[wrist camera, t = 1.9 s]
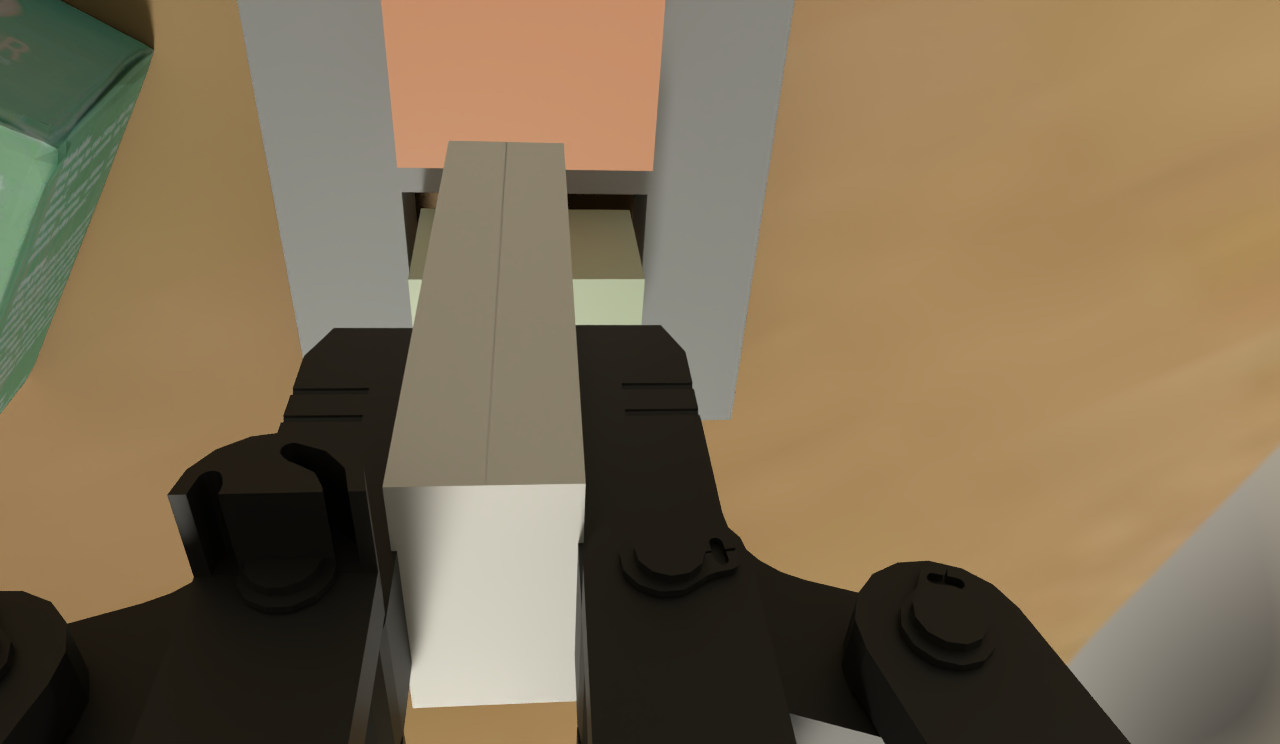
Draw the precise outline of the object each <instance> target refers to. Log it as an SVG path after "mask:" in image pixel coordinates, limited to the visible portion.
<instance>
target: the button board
mask: <svg viewBox="0 0 1280 744" xmlns="http://www.w3.org/2000/svg"><path fill="white" fill-rule="evenodd" d="M237 2H238V7H239V13H240V18H241V24H242V29H243V35H244V40H245V45H246V51H247V56H248V62H249V67H250V73H251V78H252V83H253V89H254V94H255V100H256V105H257V111H258V116H259V121H260V127H261V132H262V138H263V143H264V149H265V154H266V160H267V165H268V170H269V176H270V181H271V187H272V192H273V198H274V203H275V208H276V214H277V219H278V225H279V230H280V236H281V241H282V246H283V252H284V257H285V263H286V268H287V274H288V279H289V284H290V290H291V295H292V301H293V306H294V312H295V317H296V323H297V328H298V333H299V339H300V344H301V350H302V355H303V358H304V356H305V355H306V354H307V353H308V352H309V351H310V350H311V349H312V348H313V347H314V346H315V345H316V344H317V343H318V342H319V341H320V340H322V339H323V338H324V337H325V336H326V335H327V334H328V333H329V332H330V331H331V330H332V329H333V328H413V325H412V315H411V305H410V294H409V284H408V277H409V272H410V266H411V261H412V255H413V250H414V244H415V239H416V233H417V227H418V224H417V213H416V201H415V192H438V193H439V189H440V184H441V178H442V173H443V168H397V161H396V151H395V140H394V130H393V120H392V110H391V99H390V89H389V79H388V69H387V58H386V48H385V38H384V28H383V17H382V7H381V0H237ZM793 7H794V0H665V14H664V27H663V41H662V54H661V68H660V81H659V95H658V108H657V122H656V135H655V149H654V162H653V171H618V170H566V184H567V194H634V205H633V221H632V223H633V228H634V232H635V237H636V241H637V246H638V251H639V255H640V260H641V264H642V269H643V273H644V278H645V284H644V297H643V310H642V324H641V325H661V326H662V327H663V328H664V329H665V330H666V331H667V332H668V333H669V334H670V335H671V337H672V338H673V339H674V340H675V341H676V342H677V343H678V344H679V345H680V346H681V347H682V348H683V350H684V351H685V352H686V356H687V360H688V365H689V369H690V374H691V378H692V382H693V384H692V387H693V389H694V391H695V396H696V400H697V404H698V415H700V418H701V420H730V419H731V415H732V408H733V402H734V395H735V389H736V382H737V375H738V369H739V362H740V356H741V349H742V343H743V336H744V329H745V323H746V316H747V310H748V303H749V297H750V290H751V283H752V277H753V270H754V264H755V257H756V250H757V244H758V237H759V231H760V224H761V218H762V211H763V204H764V198H765V191H766V185H767V178H768V172H769V165H770V158H771V152H772V145H773V139H774V132H775V125H776V119H777V112H778V106H779V99H780V93H781V86H782V79H783V73H784V66H785V60H786V53H787V47H788V40H789V33H790V27H791V20H792V14H793Z"/></svg>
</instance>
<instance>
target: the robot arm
mask: <svg viewBox="0 0 1280 744" xmlns="http://www.w3.org/2000/svg"><path fill="white" fill-rule="evenodd" d="M692 384H693V382H692V378H691V374H690V369H689V365H688V360H687V356H686V352H685V351H684V350H683V348H682V347H681V346H680V345H679V344H678V343H677V342H676V341H675V340H674V339H673V338H672V337H671V335H670V334H669V333H668V332H667V331H666V330H665V329H664V328H663V327H662V326H661V325H575V309H574V293H573V278H572V262H571V246H570V231H569V215H568V200H567V184H566V168H565V153H564V143H533V142H488V141H449V142H448V147H447V152H446V157H445V163H444V168H443V173H442V178H441V184H440V189H439V194H438V199H437V205H436V210H435V215H434V220H433V225H432V231H431V236H430V241H429V246H428V252H427V257H426V262H425V267H424V273H423V278H422V283H421V288H420V293H419V299H418V304H417V309H416V314H415V320H414V325H413V328H333V329H332V330H331V331H330V332H329V333H328V334H327V335H326V336H325V337H324V338H323V339H322V340H320V341H319V342H318V343H317V344H316V345H315V346H314V347H313V348H312V349H311V350H310V351H309V352H308V353H307V354H306V355H305V356H304V358H303V361H302V363H301V366H300V369H299V372H298V375H297V378H296V381H295V384H294V387H293V395H290V398H289V401H288V404H287V407H286V410H285V413H284V415H283V416H284V422H283V423H281V424H280V427H279V430H278V433H275V434H267V435H260V436H252V437H249V438H246V439H243V440H241V441H238V442H235V443H232V444H230V445H227V446H224V447H222V448H219V449H216V450H214V451H213V452H212V453H210V454H209V455H207V456H206V457H204V458H203V459H201V460H200V461H198V462H197V463H196V464H194V465H193V466H191V467H190V468H188V469H187V470H186V471H185V472H184V473H183V475H182V476H181V477H180V479H179V480H178V481H177V483H176V484H175V485H174V487H173V488H172V489H171V491H170V492H169V493H168V495H167V496H168V499H169V502H170V505H171V508H172V511H173V514H174V517H175V520H176V523H177V526H178V529H179V533H180V536H181V539H182V542H183V545H184V548H185V551H186V554H187V557H188V560H189V563H190V566H191V570H192V573H193V576H194V578H193V581H192V582H191V583H190V584H188V585H186V586H184V587H182V588H180V589H178V590H176V591H175V592H173V593H170V594H168V595H165V596H162V597H159V598H156V599H154V600H151V601H148V602H145V603H142V604H139V605H135V606H131V607H127V608H124V609H120V610H116V611H113V612H109V613H105V614H102V615H98V616H94V617H91V618H87V619H83V620H79V621H76V622H72V623H68V624H67V623H66V621H65V620H64V619H63V617H62V616H61V615H60V613H59V612H58V611H57V609H56V608H55V607H54V605H53V604H52V603H51V602H50V601H47V600H45V599H42V598H39V597H37V596H34V595H31V594H29V593H26V592H24V591H0V744H406V743H405V736H404V723H405V715H406V707H407V700H408V692H409V684H410V691H411V698H412V705H413V708H425V707H448V706H471V705H495V704H518V703H541V702H565V701H576V702H577V744H1131V743H1130V742H1129V741H1128V740H1127V738H1126V737H1125V736H1124V735H1123V734H1122V732H1121V731H1120V730H1119V729H1118V728H1117V726H1116V725H1115V724H1114V723H1113V722H1112V720H1111V719H1110V718H1109V717H1108V715H1107V714H1106V713H1105V712H1104V711H1103V709H1102V708H1101V707H1100V706H1099V705H1098V703H1097V702H1096V701H1095V700H1094V699H1093V697H1091V695H1090V694H1089V692H1088V691H1087V690H1086V689H1085V688H1084V686H1083V685H1082V684H1081V683H1080V682H1079V681H1078V679H1077V678H1076V677H1075V675H1074V674H1073V673H1072V672H1071V671H1070V669H1069V668H1068V667H1067V666H1066V665H1065V663H1064V662H1063V661H1062V660H1061V658H1060V657H1059V656H1058V655H1057V654H1056V652H1055V651H1054V650H1053V649H1052V648H1051V646H1050V645H1049V644H1048V643H1047V641H1046V640H1045V639H1044V638H1043V637H1042V635H1041V634H1040V633H1039V632H1038V631H1037V629H1036V628H1035V627H1034V626H1033V624H1032V623H1031V622H1030V621H1029V620H1028V618H1027V617H1026V616H1025V615H1024V614H1023V612H1022V611H1021V610H1020V609H1019V608H1018V607H1017V606H1016V605H1015V604H1014V603H1013V602H1012V601H1011V600H1009V599H1008V598H1007V597H1006V596H1005V595H1004V594H1003V593H1002V592H1001V591H1000V590H998V589H997V588H996V587H995V586H994V585H993V584H991V583H989V582H987V581H985V580H983V579H981V578H979V577H977V576H975V575H973V574H971V573H969V572H968V571H966V570H964V569H962V568H957V567H953V566H949V565H944V564H940V563H936V562H931V561H917V562H900V563H896V564H894V565H891V566H889V567H887V568H885V569H883V570H880V571H878V572H876V573H874V574H872V576H871V577H870V578H869V580H868V581H867V582H866V584H865V585H864V586H863V588H862V589H861V590H860V592H859V593H857V592H853V591H849V590H845V589H840V588H836V587H832V586H828V585H824V584H819V583H815V582H811V581H807V580H803V579H800V578H797V577H794V576H791V575H788V574H785V573H782V572H780V571H778V570H776V569H774V568H772V567H771V566H769V565H767V564H765V563H763V562H761V561H760V560H758V559H757V558H756V557H755V556H753V555H752V554H751V553H750V552H749V551H747V550H746V548H745V546H744V544H743V542H742V540H741V538H740V537H739V536H738V535H737V534H735V533H734V532H733V531H732V530H731V529H730V528H728V526H727V523H726V521H725V518H724V516H723V513H722V510H721V505H720V501H719V497H718V492H717V488H716V483H715V479H714V475H713V470H712V466H711V462H710V457H709V453H708V448H707V444H706V440H705V435H704V431H703V426H702V422H701V418H700V415H698V404H697V400H696V396H695V391H694V389H693V387H692Z"/></svg>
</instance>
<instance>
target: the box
mask: <svg viewBox="0 0 1280 744" xmlns="http://www.w3.org/2000/svg"><path fill="white" fill-rule="evenodd" d="M153 52H154V50H153V49H151V48H150V47H148V46H146V45H145V44H143V43H141V42H140V41H138V40H136V39H134V38H132V37H130V36H128V35H126V34H124V33H122V32H120V31H118V30H116V29H114V28H112V27H110V26H108V25H107V24H105V23H103V22H101V21H99V20H97V19H95V18H93V17H92V16H90V15H88V14H86V13H84V12H82V11H80V10H78V9H76V8H74V7H72V6H70V5H68V4H66V3H64V2H63V1H61V0H0V414H1V412H2V411H3V410H4V408H5V407H6V406H7V404H8V403H9V402H10V401H11V399H12V398H13V397H14V395H15V394H16V393H17V391H18V390H19V389H20V388H21V386H22V385H23V384H24V383H25V381H26V379H27V377H28V376H29V374H30V372H31V370H32V368H33V366H34V365H35V362H36V359H37V357H38V354H39V352H40V349H41V346H42V344H43V341H44V339H45V336H46V333H47V331H48V328H49V326H50V323H51V321H52V318H53V316H54V313H55V310H56V308H57V305H58V303H59V300H60V298H61V295H62V292H63V290H64V287H65V285H66V282H67V280H68V278H69V275H70V272H71V270H72V267H73V264H74V262H75V259H76V257H77V254H78V251H79V249H80V246H81V244H82V241H83V238H84V236H85V233H86V231H87V228H88V226H89V223H90V220H91V218H92V215H93V213H94V210H95V208H96V205H97V203H98V200H99V198H100V195H101V192H102V190H103V187H104V185H105V182H106V179H107V177H108V174H109V171H110V168H111V166H112V163H113V160H114V158H115V155H116V152H117V150H118V147H119V144H120V142H121V139H122V136H123V134H124V131H125V129H126V126H127V123H128V121H129V118H130V116H131V113H132V111H133V108H134V105H135V103H136V100H137V98H138V95H139V93H140V90H141V87H142V85H143V82H144V79H145V77H146V74H147V71H148V68H149V65H150V62H151V59H152V55H153Z"/></svg>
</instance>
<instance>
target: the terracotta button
mask: <svg viewBox="0 0 1280 744" xmlns="http://www.w3.org/2000/svg"><path fill="white" fill-rule="evenodd" d="M381 7H382V17H383V28H384V38H385V48H386V58H387V69H388V79H389V89H390V99H391V110H392V120H393V130H394V140H395V151H396V161H397V168H444V163H445V157H446V152H447V147H448V142H449V141H488V142H533V143H564V153H565V168H566V170H618V171H653V162H654V149H655V135H656V122H657V108H658V95H659V81H660V68H661V54H662V41H663V27H664V14H665V0H381Z"/></svg>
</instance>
